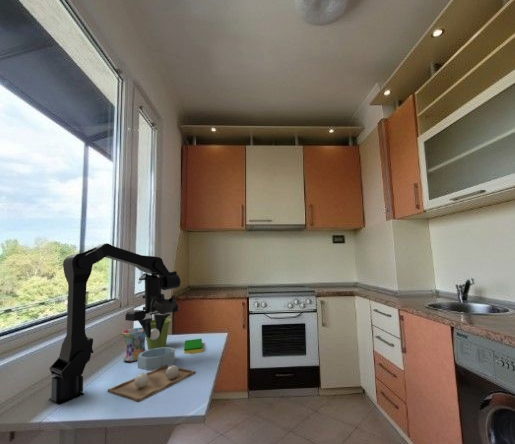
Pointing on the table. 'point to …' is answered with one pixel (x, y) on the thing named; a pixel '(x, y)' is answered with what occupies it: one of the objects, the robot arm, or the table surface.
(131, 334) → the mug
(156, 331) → the white ball
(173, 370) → the pebble
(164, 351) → the bowl
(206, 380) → the table surface
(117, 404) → the table surface
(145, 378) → the pebble
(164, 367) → the tray
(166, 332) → the plant pot
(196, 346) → the dish sponge
